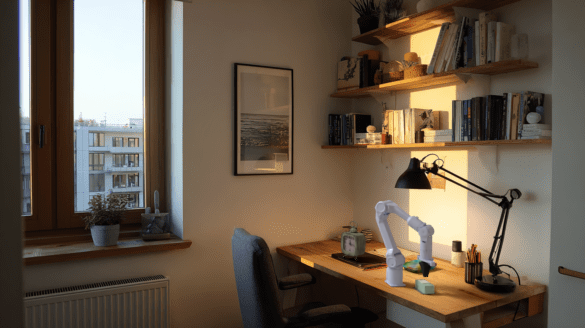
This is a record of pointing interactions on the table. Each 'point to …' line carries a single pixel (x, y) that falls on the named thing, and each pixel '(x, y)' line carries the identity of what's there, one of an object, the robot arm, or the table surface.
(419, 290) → the mat
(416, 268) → the puzzle game
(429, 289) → the sage block
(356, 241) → the tabletop clock
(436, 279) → the table surface
